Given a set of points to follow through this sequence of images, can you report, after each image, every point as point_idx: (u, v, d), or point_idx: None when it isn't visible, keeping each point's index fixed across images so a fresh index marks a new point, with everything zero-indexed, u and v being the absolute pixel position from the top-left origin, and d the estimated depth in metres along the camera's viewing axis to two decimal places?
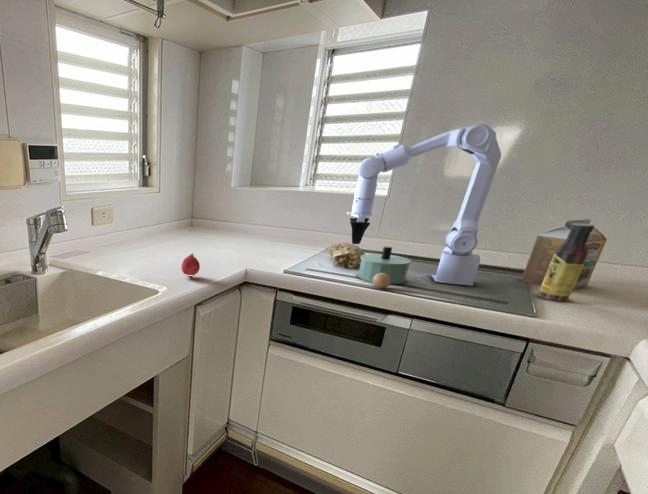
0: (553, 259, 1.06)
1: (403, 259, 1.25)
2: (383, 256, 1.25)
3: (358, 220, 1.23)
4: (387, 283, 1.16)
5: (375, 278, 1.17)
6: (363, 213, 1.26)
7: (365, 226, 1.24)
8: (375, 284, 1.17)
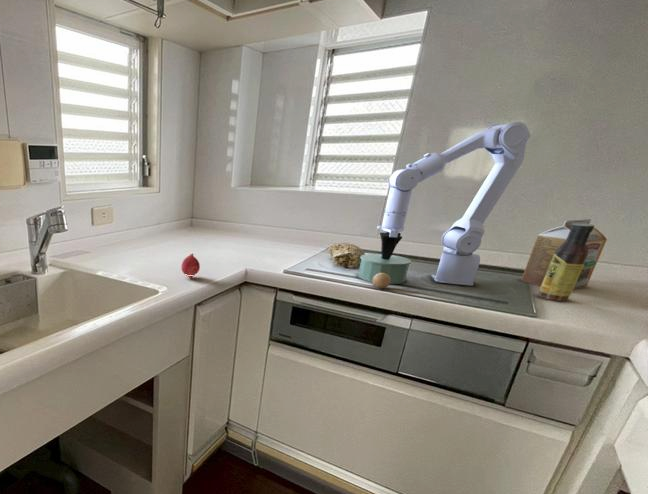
0: (553, 259, 1.06)
1: (403, 259, 1.24)
2: None
3: (391, 235, 1.17)
4: (387, 283, 1.16)
5: (375, 278, 1.17)
6: (395, 227, 1.19)
7: (397, 240, 1.20)
8: (375, 284, 1.17)
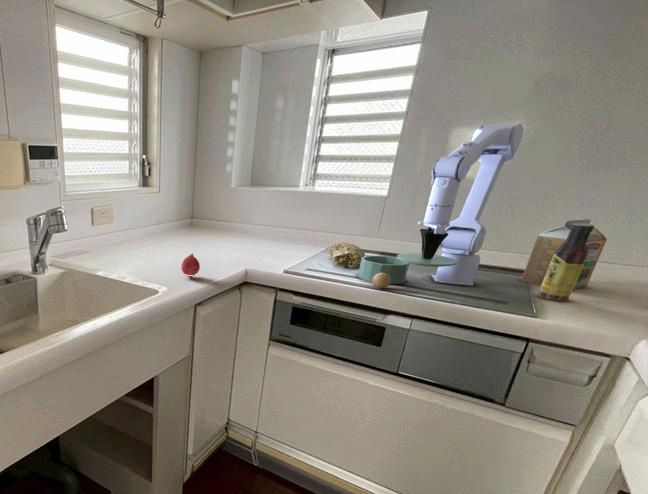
0: (553, 259, 1.06)
1: (447, 259, 1.10)
2: None
3: (436, 232, 1.02)
4: (387, 283, 1.16)
5: (375, 278, 1.17)
6: (440, 223, 1.05)
7: (442, 237, 1.05)
8: (375, 284, 1.17)
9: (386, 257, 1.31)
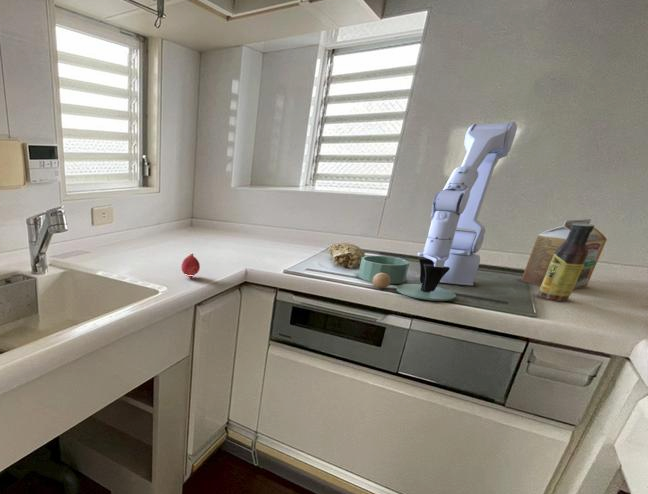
0: (553, 259, 1.06)
1: (446, 292, 1.11)
2: (423, 288, 1.11)
3: (436, 265, 1.03)
4: (387, 283, 1.16)
5: (375, 278, 1.17)
6: (440, 255, 1.06)
7: (443, 271, 1.04)
8: (375, 284, 1.17)
9: (386, 257, 1.31)
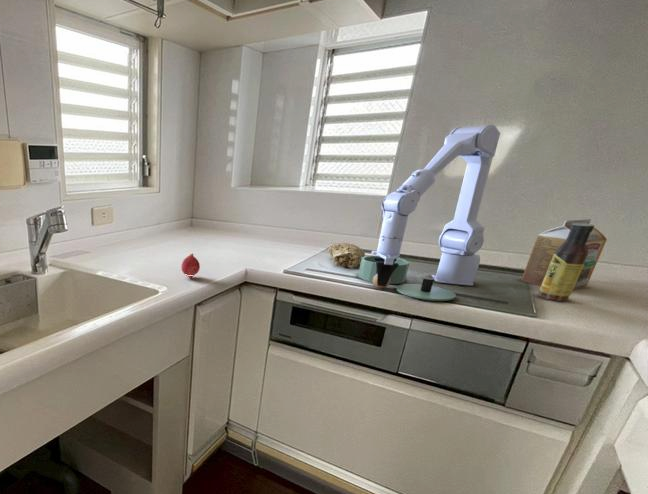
0: (553, 259, 1.06)
1: (446, 292, 1.11)
2: (423, 288, 1.11)
3: (386, 262, 1.09)
4: (387, 283, 1.16)
5: (375, 278, 1.17)
6: (391, 253, 1.12)
7: (393, 268, 1.11)
8: (375, 284, 1.17)
9: None
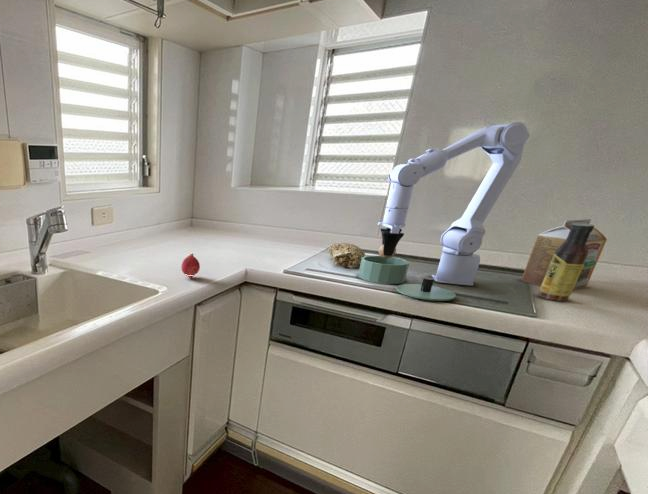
0: (553, 259, 1.06)
1: (446, 292, 1.11)
2: (423, 288, 1.11)
3: (392, 231, 1.14)
4: (393, 253, 1.21)
5: (381, 248, 1.22)
6: (396, 223, 1.17)
7: (399, 237, 1.17)
8: (381, 254, 1.23)
9: None
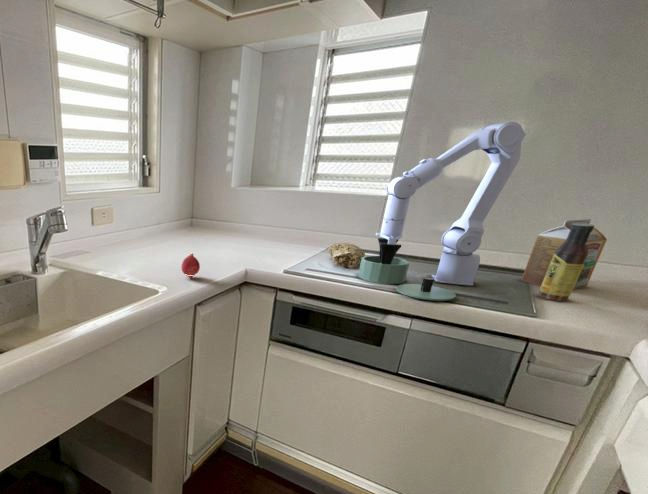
0: (553, 259, 1.06)
1: (446, 292, 1.11)
2: (423, 288, 1.11)
3: (389, 242, 1.18)
4: None
5: None
6: (393, 235, 1.20)
7: (396, 248, 1.19)
8: None
9: None
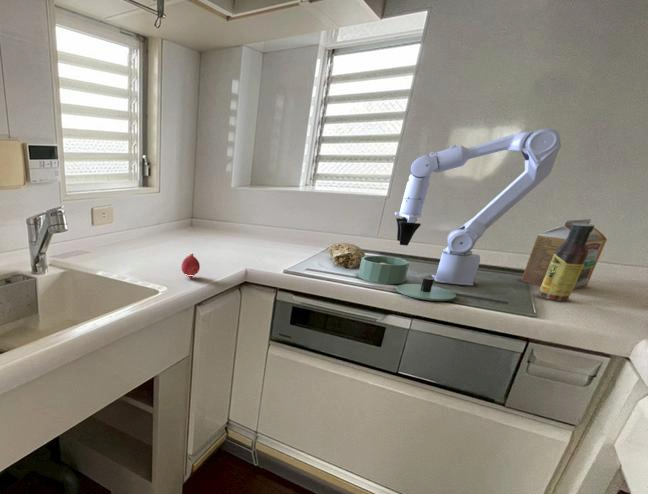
0: (553, 259, 1.06)
1: (446, 292, 1.11)
2: (423, 288, 1.11)
3: (409, 221, 1.20)
4: None
5: None
6: (413, 213, 1.22)
7: (415, 227, 1.21)
8: None
9: (386, 257, 1.31)
